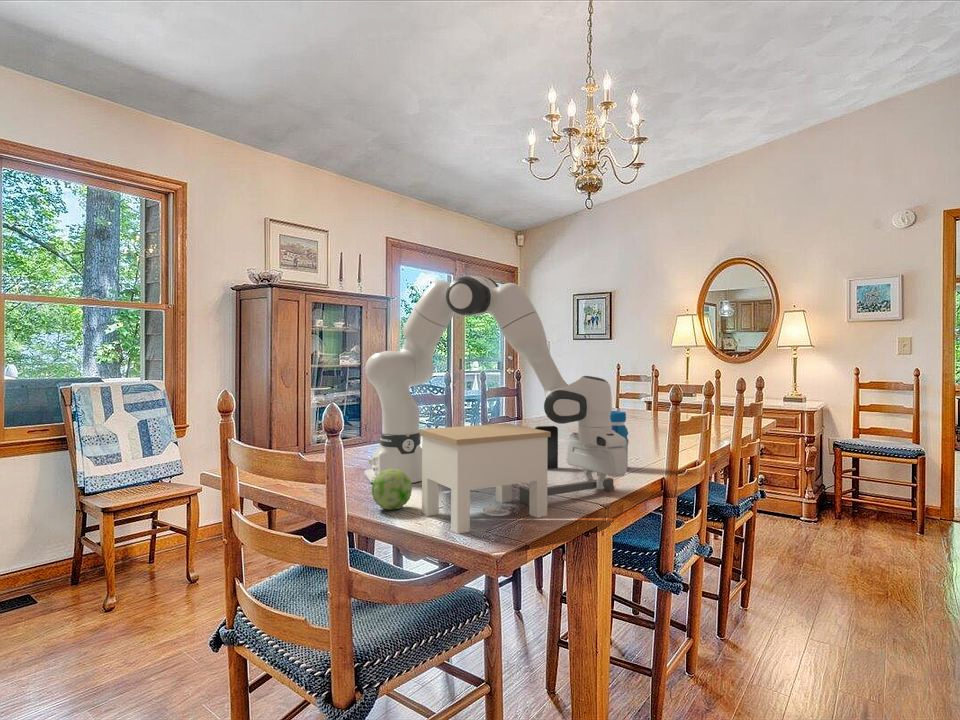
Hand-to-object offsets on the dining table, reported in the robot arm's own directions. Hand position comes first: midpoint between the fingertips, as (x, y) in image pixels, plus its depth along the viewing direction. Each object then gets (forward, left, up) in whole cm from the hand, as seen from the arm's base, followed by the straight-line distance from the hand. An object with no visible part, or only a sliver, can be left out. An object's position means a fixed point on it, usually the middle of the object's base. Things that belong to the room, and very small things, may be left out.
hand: (594, 487), depth 150 cm
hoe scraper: (0, -7, -2) cm, 7 cm away
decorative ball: (-16, -52, -3) cm, 54 cm away
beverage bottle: (-19, +26, -3) cm, 32 cm away
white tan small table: (0, -35, -2) cm, 35 cm away
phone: (-32, +8, -3) cm, 33 cm away
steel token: (0, -31, -3) cm, 31 cm away
